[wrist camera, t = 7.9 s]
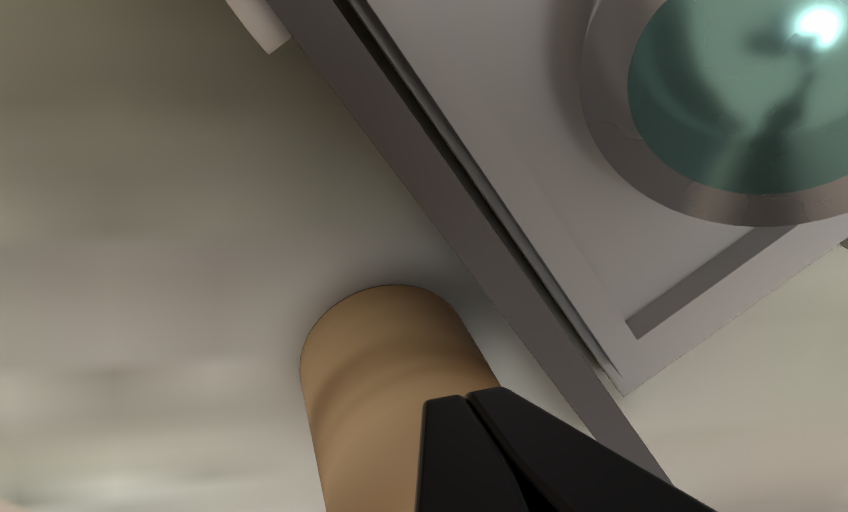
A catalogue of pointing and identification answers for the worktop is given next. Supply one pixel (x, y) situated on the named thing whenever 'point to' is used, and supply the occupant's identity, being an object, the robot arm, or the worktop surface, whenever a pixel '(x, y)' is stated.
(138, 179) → the worktop surface
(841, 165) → the disc
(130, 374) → the worktop surface
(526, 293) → the tray
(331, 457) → the oak stand
